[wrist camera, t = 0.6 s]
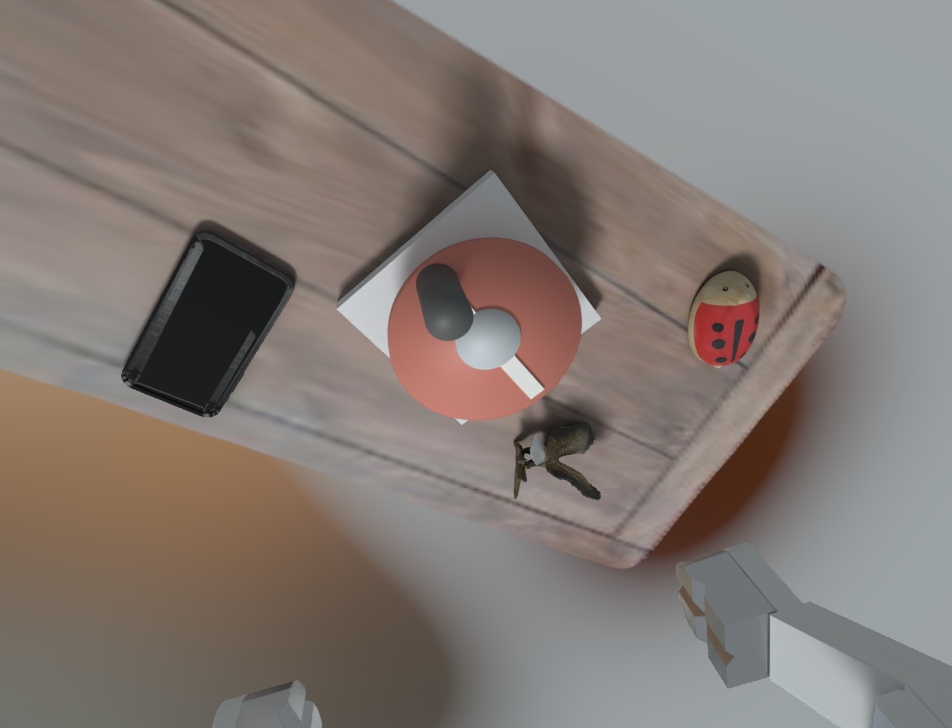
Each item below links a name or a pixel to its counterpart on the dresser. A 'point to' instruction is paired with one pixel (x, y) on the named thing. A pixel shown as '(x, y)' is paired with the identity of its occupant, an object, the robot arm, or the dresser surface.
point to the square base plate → (464, 219)
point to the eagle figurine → (557, 457)
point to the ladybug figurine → (723, 319)
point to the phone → (207, 325)
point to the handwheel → (483, 328)
